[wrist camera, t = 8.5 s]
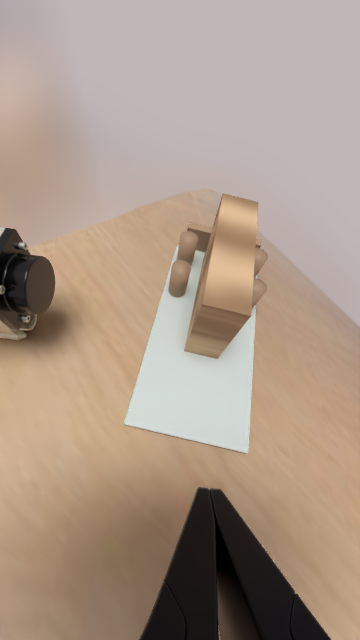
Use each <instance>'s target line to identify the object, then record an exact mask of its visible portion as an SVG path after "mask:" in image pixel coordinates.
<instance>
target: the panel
mask: <svg viewBox="0 0 360 640" xmlns="http://www.w3.org/2000/svg"><path fill="white" fill-rule="evenodd" d="M211 232H212V228H211V227H207V226H203V225H199V224H195V223H191V222H189V226H188V230H187V231H185V232H183V233H182V234H181V236H180V242H179V246H177V247H176V250H175V253H174V257H173V260H172V264H171V267H170V270H169V274H168V277H167V280H166V284H165V287H164V290H163V294H162V297H161V301H160V304H159V307H158V311H157V314H156V317H155V321H154V324H153V328H152V331H151V334H150V338H149V341H148V344H147V348H146V351H145V355H144V358H143V361H142V365H141V368H140V371H139V375H138V378H137V382H136V385H135V388H134V392H133V395H132V398H131V402H130V405H129V408H128V412H127V415H126V419H125V422H124V425H128V426H132V427H136V428H140V429H145V430H149V431H153V432H157V433H161V434H166V435H170V436H174V437H178V438H183V439H187V440H191V441H195V442H200V443H204V444H208V445H212V446H216V447H221V448H225V449H229V450H233V451H238V452H242V453H248V447H249V429H250V410H251V391H252V372H253V354H254V335H255V316H256V304H257V302H258V301H259V300H260V298H261V297H262V296H263V294H264V293H265V292H266V290H267V286H266V284H265V283H264V282H263V281H262V280H260V279H257V278H258V272H259V271H260V269H261V268H262V266H263V265H264V263H265V261H266V260H267V258H268V256H267V253H266V252H265V251H264V250H262V249H260V247H261V240H260V239H256V247H255V263H254V279H253V295H252V311H251V317H250V318H249V319H248V321H247V322H246V323H245V324H244V326H243V327H242V328H241V330H240V331H239V332H238V333H237V335H236V336H235V337H234V338H233V340H232V341H231V342H230V344H229V345H228V346H227V347H226V349H225V350H224V351H223V353H222V354H221V355H220V356H219V358H218V359H215V358H211V357H206V356H202V355H198V354H194V353H190V352H185V351H184V349H185V344H186V339H187V334H188V330H189V325H190V320H191V315H192V310H193V306H194V301H195V296H196V291H197V287H198V282H199V277H200V272H201V267H202V263H203V258H204V255H205V252H206V248H207V245H208V242H209V238H210V235H211Z"/></svg>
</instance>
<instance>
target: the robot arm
mask: <svg viewBox="0 0 360 640" xmlns="http://www.w3.org/2000/svg"><path fill="white" fill-rule="evenodd" d="M218 624H219V631H220V638H221V640H331V639H330V637H329V636H328V635H327V633H326V632H325V631H324V629H323V628H322V627H321V625H320V624H319V623H318V621H317V620H316V619H315V618H314V616H313V615H312V614H311V612H310V611H309V610H308V608H307V607H306V605H305V604H304V603H303V601H302V600H301V599H300V597H299V596H298V594H295V591H294V590H293V588H292V587H291V585H290V584H289V583H288V581H287V580H286V578H285V577H284V576H283V574H282V573H281V572H280V570H279V569H278V567H277V566H276V565H275V563H274V562H273V561H272V559H271V558H270V556H269V555H268V554H267V552H266V551H265V549H264V548H263V547H262V545H261V544H260V543H259V541H258V540H257V538H256V537H255V536H254V534H253V533H252V532H251V530H250V529H249V527H248V526H247V525H246V523H245V522H244V520H243V519H242V518H241V516H240V515H239V514H238V512H237V511H236V509H235V508H234V507H233V505H232V504H231V503H230V501H229V500H228V498H227V497H226V496H225V494H224V493H223V491H222V490H221V489H214V488H211V489H210V490H209V489H208V488H201V487H199V488H197V491H196V494H195V496H194V499H193V502H192V505H191V507H190V510H189V513H188V515H187V518H186V521H185V524H184V526H183V529H182V532H181V535H180V537H179V540H178V543H177V546H176V548H175V551H174V554H173V557H172V559H171V562H170V565H169V568H168V570H167V573H166V576H165V579H164V582H163V583H162V586H161V589H160V591H159V594H158V597H157V599H156V602H155V604H154V607H153V609H152V612H151V614H150V617H149V619H148V622H147V624H146V626H145V628H144V630H143V633H142V635H141V637H140V639H139V640H219V638H218Z"/></svg>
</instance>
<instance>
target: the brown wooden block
mask: <svg viewBox="0 0 360 640" xmlns="http://www.w3.org/2000/svg"><path fill="white" fill-rule="evenodd" d="M257 215H258V202H255V201H251V200H246V199H243V198H239V197H235V196H231V195H226V194H223V195H222V198H221V202H220V205H219V208H218V212H217V215H216V218H215V222H214V225H213V228H212V232H211V235H210V238H209V242H208V245H207V248H206V252H205V255H204V258H203V263H202V267H201V272H200V277H199V282H198V287H197V291H196V296H195V301H194V306H193V310H192V315H191V320H190V325H189V330H188V334H187V339H186V344H185V349H184V351H185V352H190V353H194V354H198V355H202V356H206V357H211V358H215V359H218V358H219V356H220V355H221V354H222V353H223V351H224V350H225V349H226V347H227V346H228V345H229V344H230V342H231V341H232V340H233V338H234V337H235V336H236V335H237V333H238V332H239V331H240V330H241V328H242V327H243V326H244V324H245V323H246V322H247V321H248V319H249V318H250V317H251V311H252V295H253V279H254V263H255V247H256V231H257Z"/></svg>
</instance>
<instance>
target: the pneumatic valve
mask: <svg viewBox="0 0 360 640" xmlns="http://www.w3.org/2000/svg"><path fill="white" fill-rule="evenodd" d="M27 247H28V246H27V243H25V242H23V241H22V239H21V238H20V236H19V234H18V233H17V231H16V230H15V229H10V228H3V227H0V338H5V339H14V340H21V339H22V338H25V337H27V334H26V332H24V331H27V330H32V329H33V328H34V327H35V325H36V322H37V315H39V314H42V313H44V312H45V311H46V310H47V309H48V308H49V306H50V304H51V302H52V299H53V296H54V290H55V275H54V270H53V267H52V265H51V263H50V262H49V260H48V259H47V258H45V257H43V256H36V255H30V253H29V251H28V250H27Z"/></svg>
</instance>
